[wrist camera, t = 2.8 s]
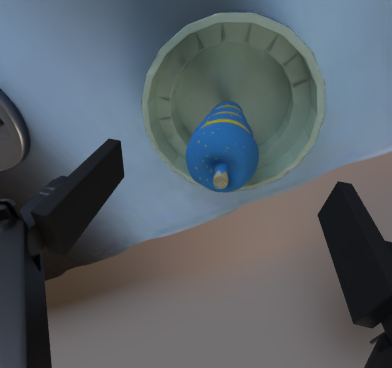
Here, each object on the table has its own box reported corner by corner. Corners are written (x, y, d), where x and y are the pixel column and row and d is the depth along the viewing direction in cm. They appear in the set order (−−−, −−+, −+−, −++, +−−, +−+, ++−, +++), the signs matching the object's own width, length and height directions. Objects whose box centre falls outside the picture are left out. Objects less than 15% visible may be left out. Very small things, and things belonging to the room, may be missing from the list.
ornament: (204, 80, 24) (166, 149, 13) (255, 76, 23) (265, 148, 12) (208, 127, 27) (179, 217, 16) (253, 125, 26) (259, 221, 15)
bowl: (135, 112, 28) (115, 131, 24) (221, -38, 19) (213, -51, 15) (235, 185, 32) (234, 213, 28) (346, 91, 23) (369, 110, 19)
